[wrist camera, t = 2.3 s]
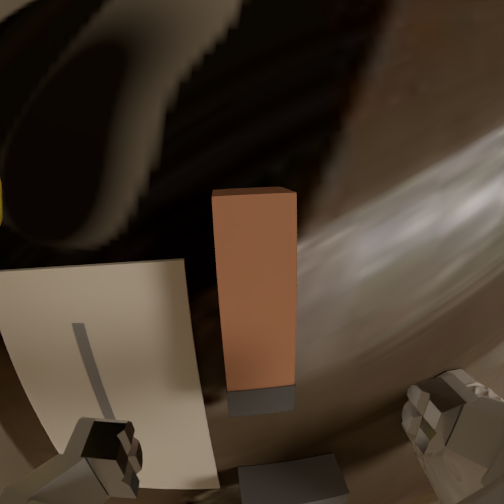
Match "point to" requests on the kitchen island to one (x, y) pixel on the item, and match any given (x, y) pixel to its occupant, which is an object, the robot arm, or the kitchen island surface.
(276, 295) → the block
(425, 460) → the white cup
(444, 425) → the robot arm
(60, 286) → the paper
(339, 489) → the button housing
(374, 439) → the kitchen island surface
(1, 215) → the lemon
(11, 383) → the kitchen island surface
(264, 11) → the kitchen island surface
